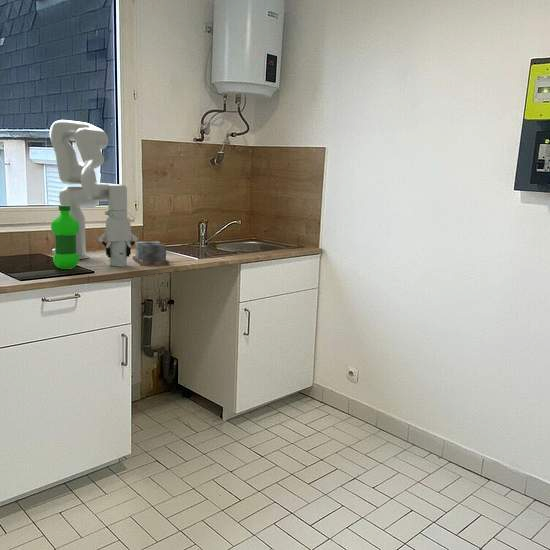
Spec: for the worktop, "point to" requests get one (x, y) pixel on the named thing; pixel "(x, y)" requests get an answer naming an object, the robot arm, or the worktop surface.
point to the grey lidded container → (150, 253)
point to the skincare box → (118, 253)
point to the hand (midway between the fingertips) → (118, 256)
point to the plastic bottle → (65, 239)
